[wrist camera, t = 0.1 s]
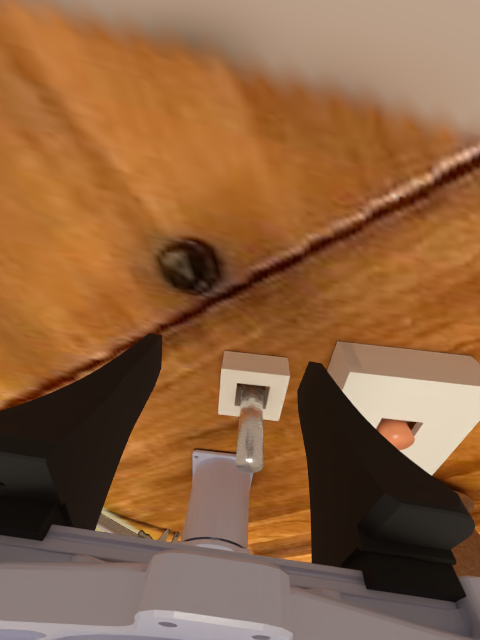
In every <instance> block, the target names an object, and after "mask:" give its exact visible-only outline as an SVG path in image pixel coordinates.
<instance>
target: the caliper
mask: <svg viewBox="0 0 480 640" xmlns="http://www.w3.org/2000/svg"><path fill="white" fill-rule="evenodd" d="M96 527H98V528H100V529H102V530H103V531H105V532H107V533H113V534H120V535H126V536H133V537H140V538H146V539H152V537H151V536H150V535H149V534H146V533H144V531H143V530H140V531H139V533H138V534H136V533H134V532H132V531H131V530H129V529H127V528H125V527H124V526H122V525H120V524H118V523H117V522H115V521H113V520H112V519H110V518H108V517H106V516H105V515H103V514H100V517H99V520H98V523H97V526H96ZM169 531H170V529H167V530H165V532H164V533H163V534H162V535H161V537H160V538H159V539H158V540H160V541H166V538H167V536H168V534H169ZM178 537H179V534H178V532H176V533H175V534H174V537H173V539H172V541H171V542H173V543H177V542H178Z"/></svg>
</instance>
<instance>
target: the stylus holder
mask: <svg viewBox="0 0 480 640" xmlns="http://www.w3.org/2000/svg"><path fill="white" fill-rule="evenodd" d="M289 379H290V371H289V364H288V358H286V357H277V356H268V355H259V354H250V353H241V352H232V351H224V357H223V362H222V368H221V380H220V394H219V409H218V414H221V415H230V416H238V417H239V415H240V403H241V390H242V387H237V383H242V384H251V385H260V386H266V388H265V390H264V389H263V419H265V420H274V421H279V418H280V414H281V410H282V406H283V402H284V398H285V395H286V391H287V387H288V383H289Z"/></svg>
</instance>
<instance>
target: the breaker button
mask: <svg viewBox="0 0 480 640" xmlns="http://www.w3.org/2000/svg"><path fill="white" fill-rule="evenodd" d="M410 422H411V421H404V420H395V419H386V418H382V419H381V421H380V422H379V424H378V426H377V428H376V430H377V431H378V432H379V433H380V434H382V435H383V436H384V437H385V438H386V439H387V440H388V441H389V442H390V443H391V444H393V445H394V446H395V447H396V448H397V449H398V450H403V449H406V448H408V447H410V446H411V445H412V444H413V443H414V441H415V438H414V436H413V434H412V432H411V430H410V428H409V427H408V425H409V423H410Z"/></svg>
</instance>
